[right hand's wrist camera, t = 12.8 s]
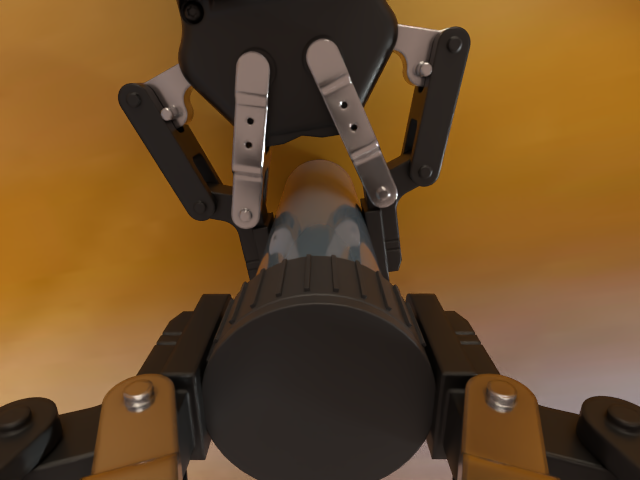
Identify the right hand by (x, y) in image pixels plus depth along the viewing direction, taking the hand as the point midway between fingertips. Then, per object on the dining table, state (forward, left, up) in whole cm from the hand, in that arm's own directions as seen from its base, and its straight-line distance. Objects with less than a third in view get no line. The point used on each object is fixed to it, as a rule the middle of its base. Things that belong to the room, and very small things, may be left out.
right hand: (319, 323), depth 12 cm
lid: (0, 0, +3) cm, 3 cm away
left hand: (0, -3, -8) cm, 8 cm away
